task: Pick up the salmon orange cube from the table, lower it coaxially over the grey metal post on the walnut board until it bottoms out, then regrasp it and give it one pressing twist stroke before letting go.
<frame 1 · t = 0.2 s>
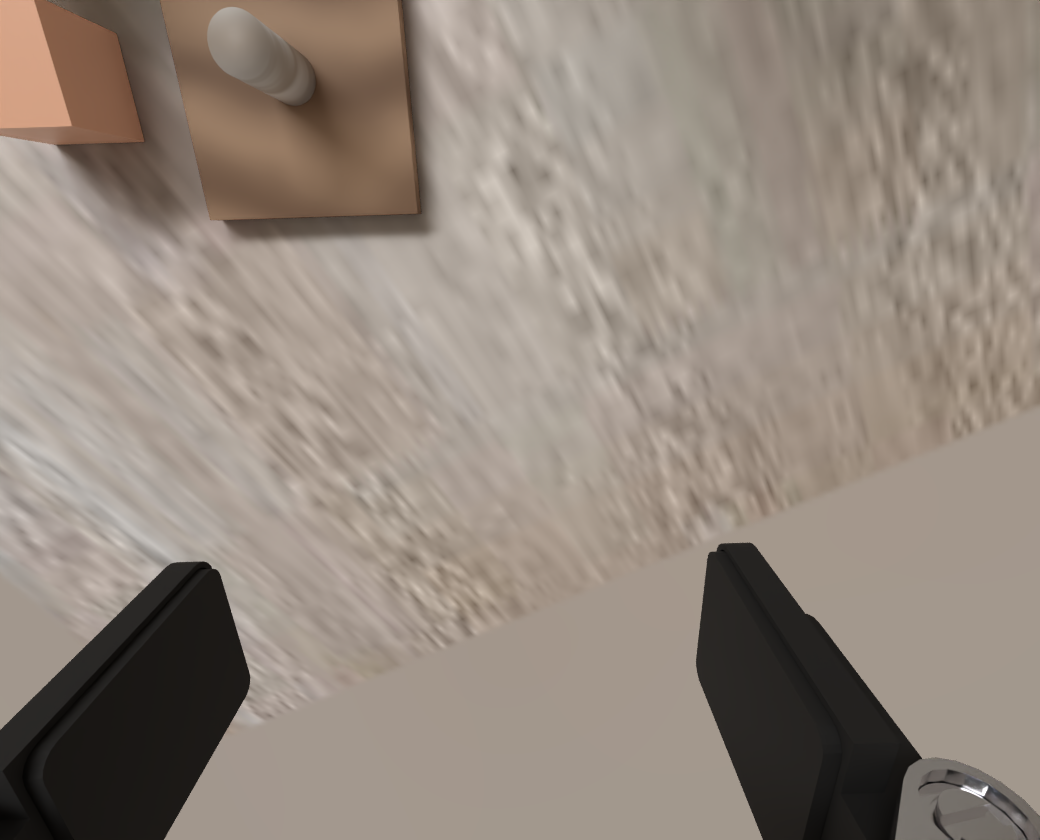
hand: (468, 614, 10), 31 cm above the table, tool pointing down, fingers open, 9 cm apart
post board: (300, 83, 33), on the table
salmon orange cube: (84, 91, 33), on the table
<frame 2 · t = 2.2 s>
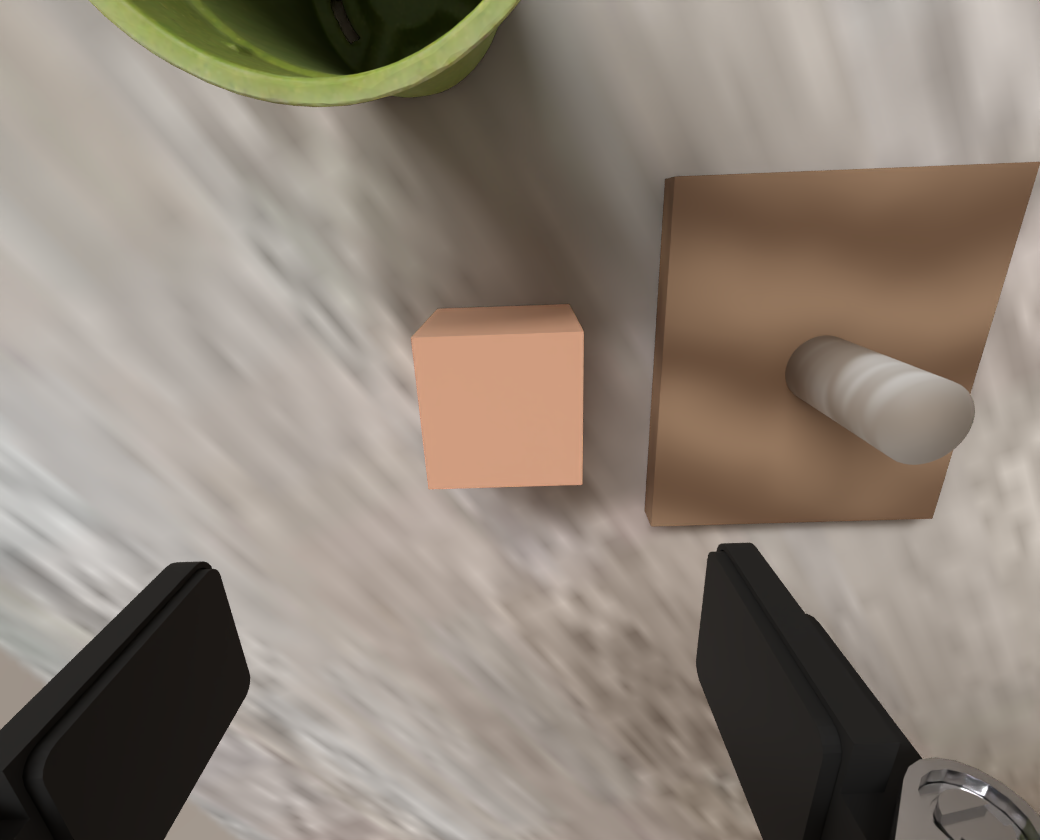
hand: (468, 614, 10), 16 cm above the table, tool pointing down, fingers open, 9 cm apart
post board: (802, 359, 24), on the table
salmon orange cube: (506, 369, 24), on the table
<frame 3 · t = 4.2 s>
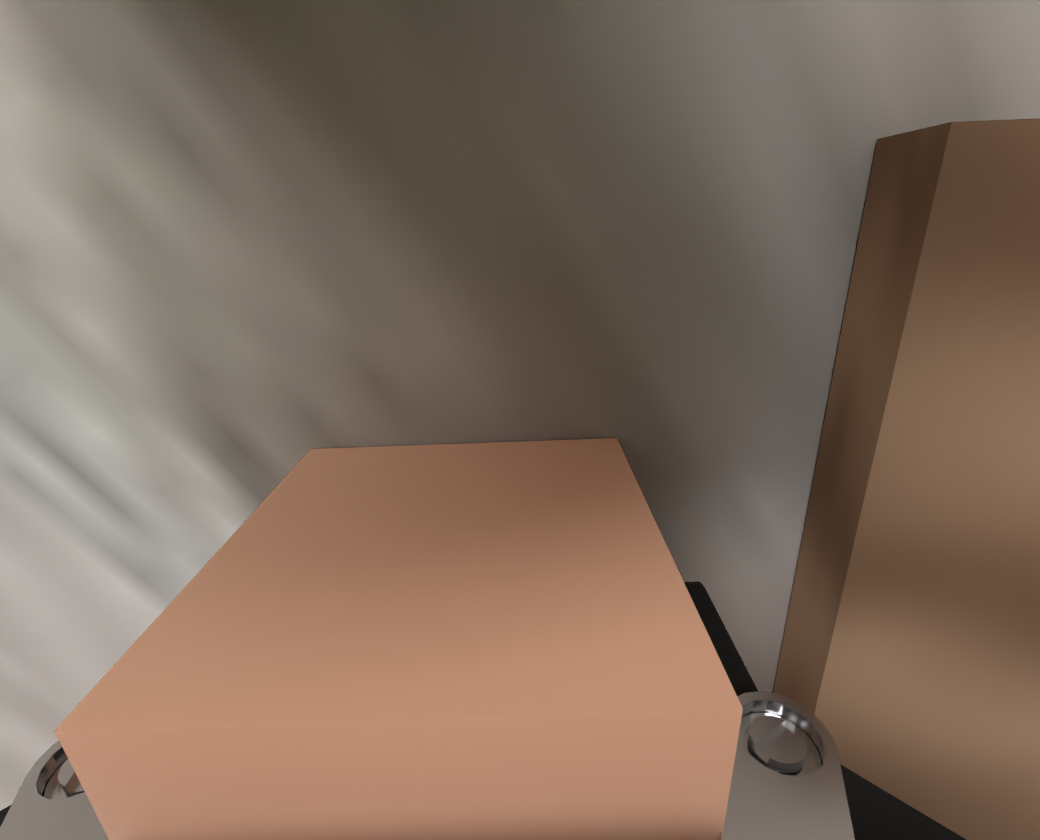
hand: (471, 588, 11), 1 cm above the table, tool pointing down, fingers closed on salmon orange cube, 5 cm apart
salmon orange cube: (474, 570, 11), on the table, touching gripper
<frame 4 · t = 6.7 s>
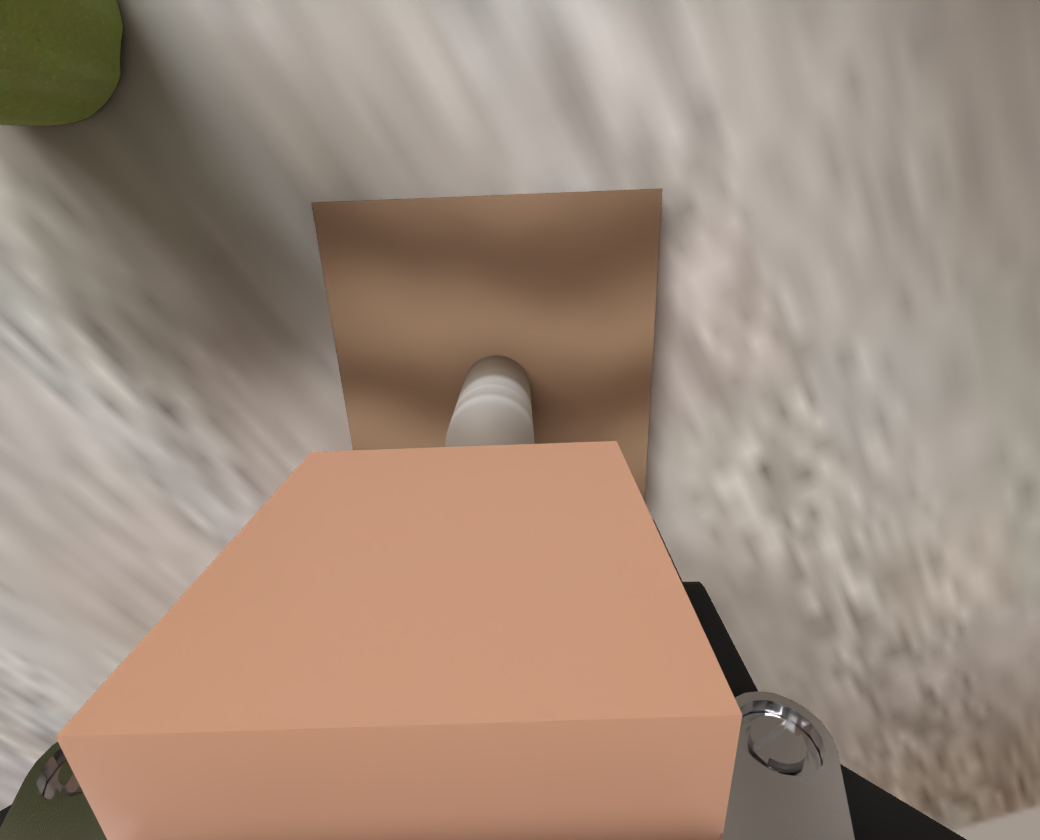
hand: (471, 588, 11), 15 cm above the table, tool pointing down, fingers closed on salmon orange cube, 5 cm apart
plant pot: (35, 16, 20), on the table
post board: (498, 378, 25), on the table
salmon orange cube: (474, 572, 11), point 15 cm above the table, touching gripper
when the fingers open (5 cm above the table, at t = 9.3 s): salmon orange cube drops 2 cm, resting on post board.
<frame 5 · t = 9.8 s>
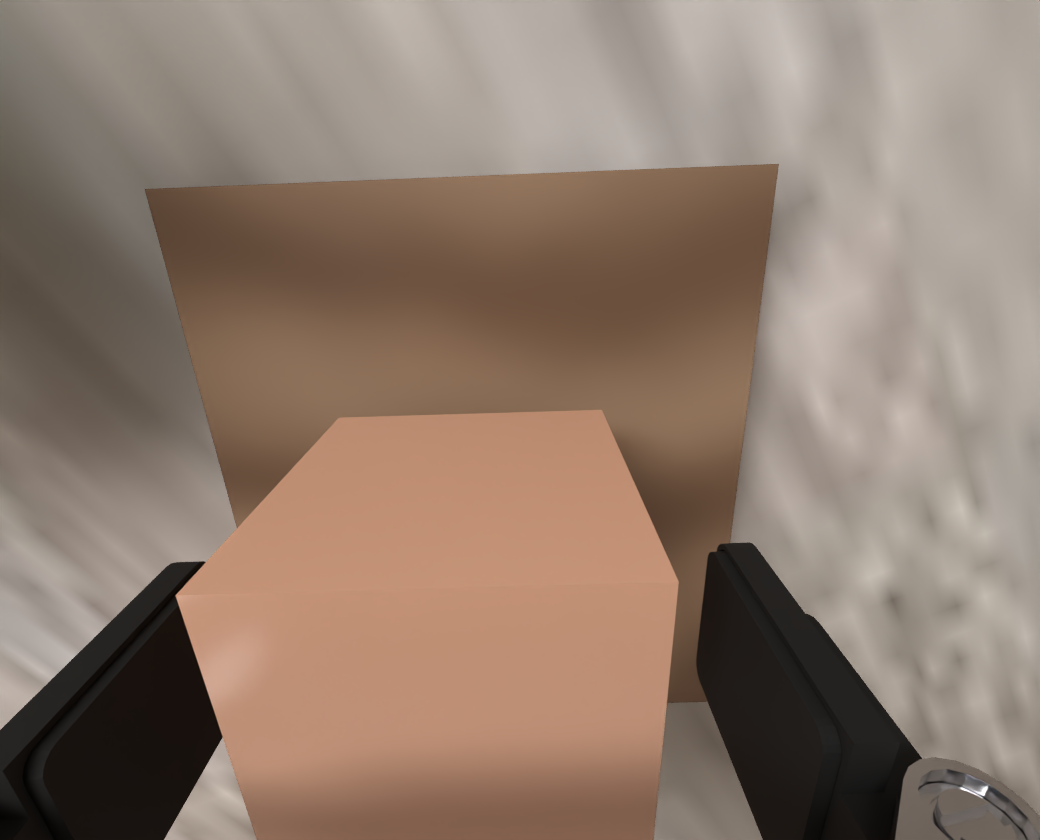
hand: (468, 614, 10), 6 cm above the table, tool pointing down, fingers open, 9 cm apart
post board: (485, 471, 16), on the table
salmon orange cube: (477, 526, 13), point 3 cm above the table, touching post board
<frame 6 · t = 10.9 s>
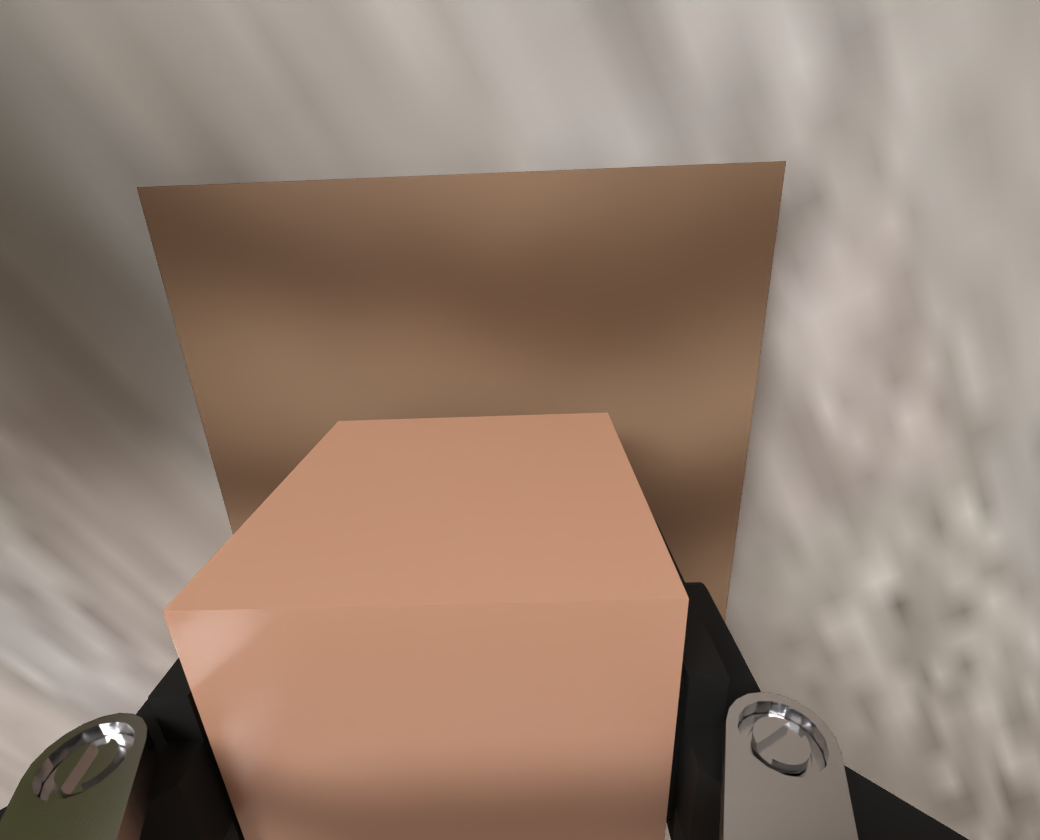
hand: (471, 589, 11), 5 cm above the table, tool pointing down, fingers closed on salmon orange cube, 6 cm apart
post board: (486, 474, 15), on the table
salmon orange cube: (481, 531, 13), point 3 cm above the table, touching gripper, post board
when the fingers open (5 cm above the table, at t = 13.0 s): salmon orange cube stays where it is, resting on post board.
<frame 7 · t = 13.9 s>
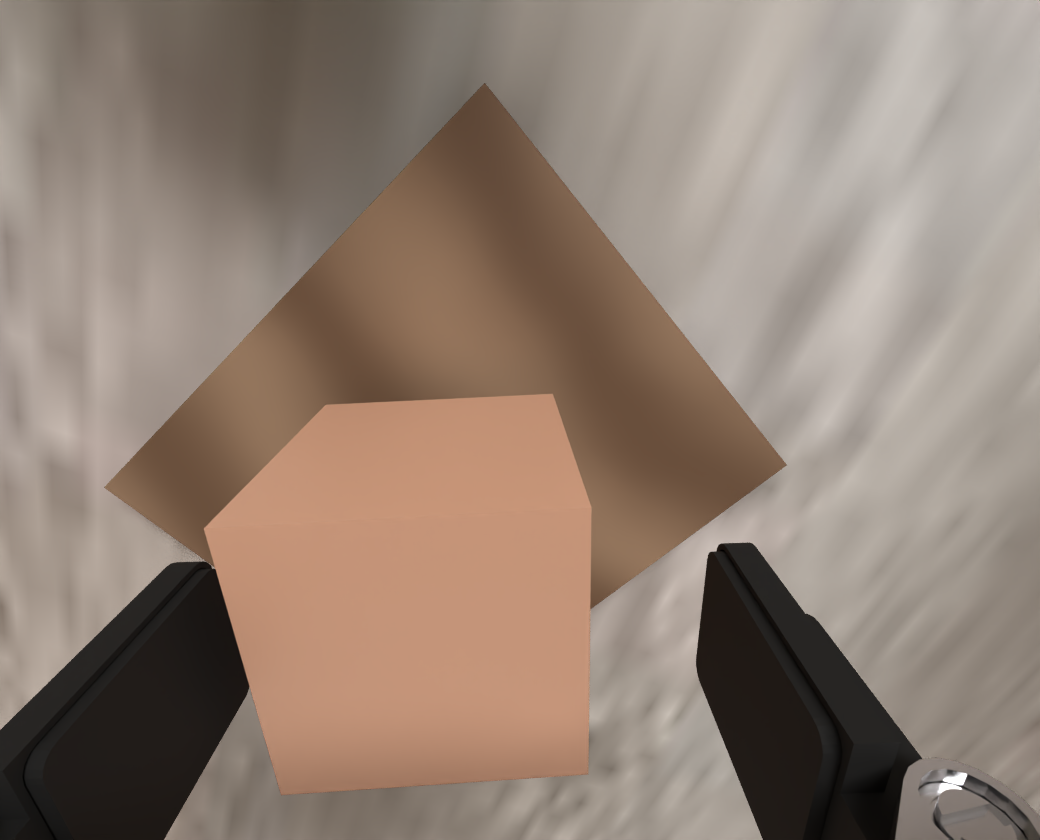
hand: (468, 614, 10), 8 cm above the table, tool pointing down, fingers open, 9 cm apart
post board: (456, 456, 17), on the table
salmon orange cube: (449, 499, 15), point 3 cm above the table, touching post board
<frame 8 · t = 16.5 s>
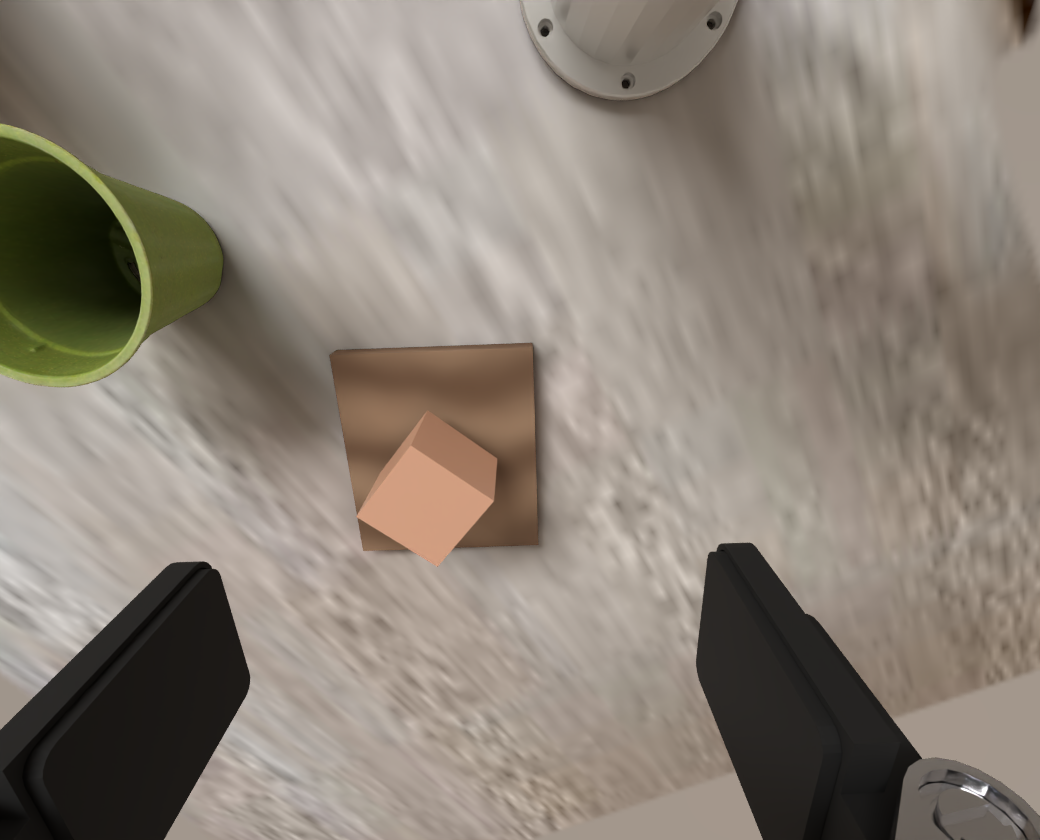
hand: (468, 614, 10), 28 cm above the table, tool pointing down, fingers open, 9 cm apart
plant pot: (172, 252, 35), on the table
post board: (444, 448, 40), on the table
salmon orange cube: (438, 465, 37), point 3 cm above the table, touching post board
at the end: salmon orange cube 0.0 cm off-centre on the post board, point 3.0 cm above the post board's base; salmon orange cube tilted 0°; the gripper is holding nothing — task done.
